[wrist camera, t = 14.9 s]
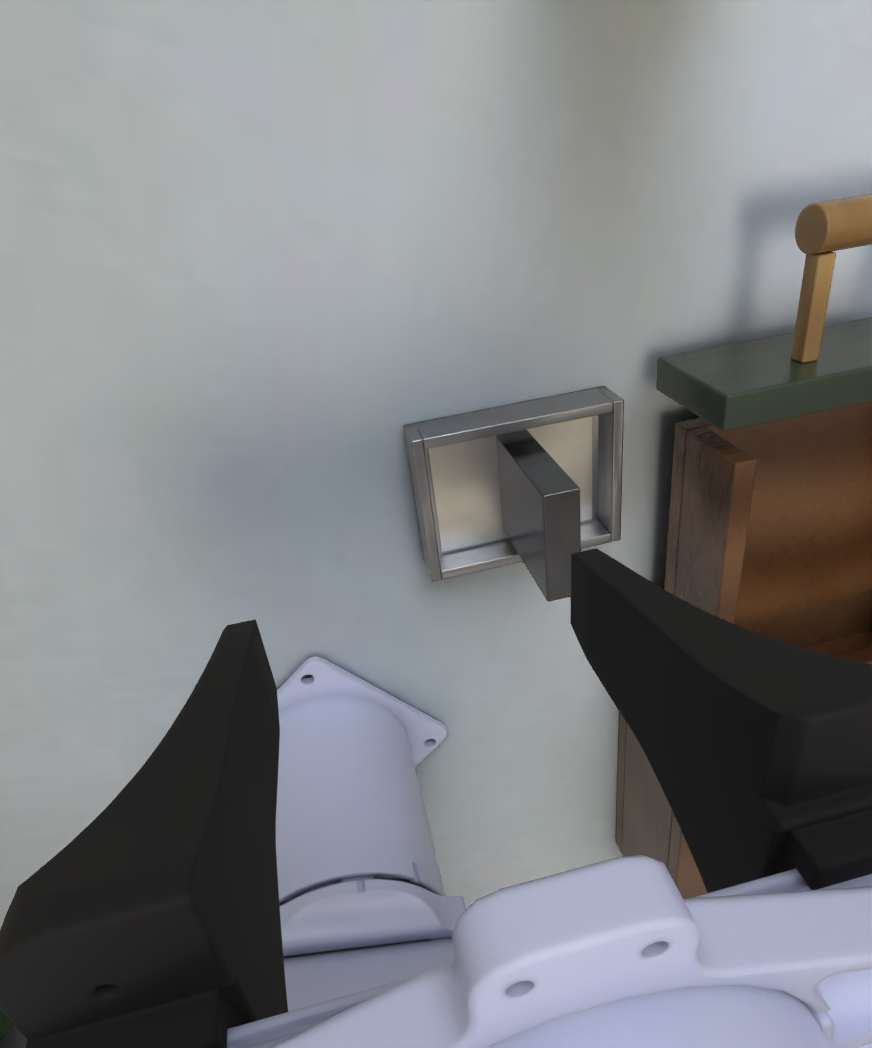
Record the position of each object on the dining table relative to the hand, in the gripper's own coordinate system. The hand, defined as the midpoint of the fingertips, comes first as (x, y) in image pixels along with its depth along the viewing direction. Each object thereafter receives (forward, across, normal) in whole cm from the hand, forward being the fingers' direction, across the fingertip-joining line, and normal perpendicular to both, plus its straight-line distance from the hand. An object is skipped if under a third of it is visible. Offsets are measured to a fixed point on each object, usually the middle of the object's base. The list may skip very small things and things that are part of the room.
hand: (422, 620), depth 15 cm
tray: (+10, -5, +3) cm, 12 cm away
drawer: (+9, -17, +4) cm, 20 cm away
